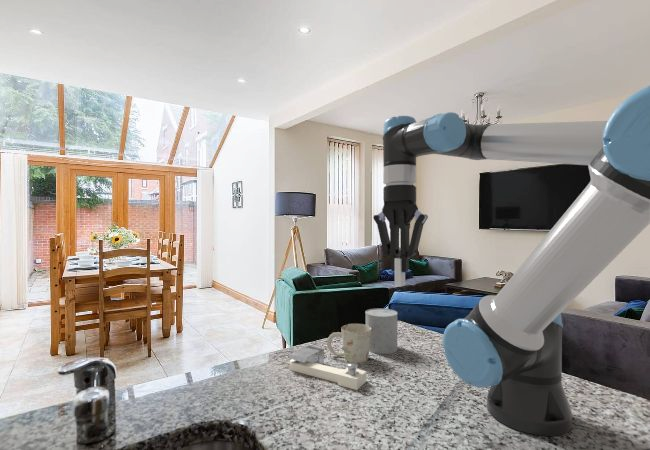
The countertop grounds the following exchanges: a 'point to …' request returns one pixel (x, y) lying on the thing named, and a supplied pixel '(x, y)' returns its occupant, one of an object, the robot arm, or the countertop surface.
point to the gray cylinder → (382, 330)
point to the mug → (353, 342)
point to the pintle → (352, 368)
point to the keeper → (309, 354)
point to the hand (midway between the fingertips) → (399, 285)
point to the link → (330, 373)
